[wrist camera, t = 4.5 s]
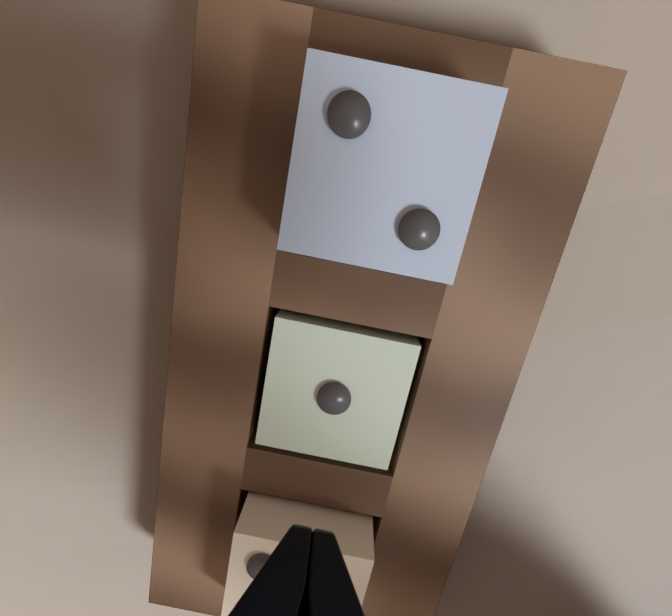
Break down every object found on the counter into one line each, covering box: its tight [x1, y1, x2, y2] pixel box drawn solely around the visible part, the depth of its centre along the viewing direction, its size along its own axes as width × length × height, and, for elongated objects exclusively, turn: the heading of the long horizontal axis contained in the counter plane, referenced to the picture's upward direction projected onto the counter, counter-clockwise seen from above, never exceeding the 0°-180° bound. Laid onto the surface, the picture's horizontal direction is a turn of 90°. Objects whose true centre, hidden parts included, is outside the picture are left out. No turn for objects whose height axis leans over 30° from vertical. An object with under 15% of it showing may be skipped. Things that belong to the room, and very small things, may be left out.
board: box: [149, 0, 627, 616], centre depth 15 cm, size 23×12×2 cm, turn 169°
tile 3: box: [221, 491, 375, 616], centre depth 15 cm, size 5×5×2 cm
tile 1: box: [255, 309, 421, 470], centre depth 15 cm, size 5×5×2 cm
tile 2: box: [277, 48, 508, 285], centre depth 11 cm, size 5×5×2 cm
